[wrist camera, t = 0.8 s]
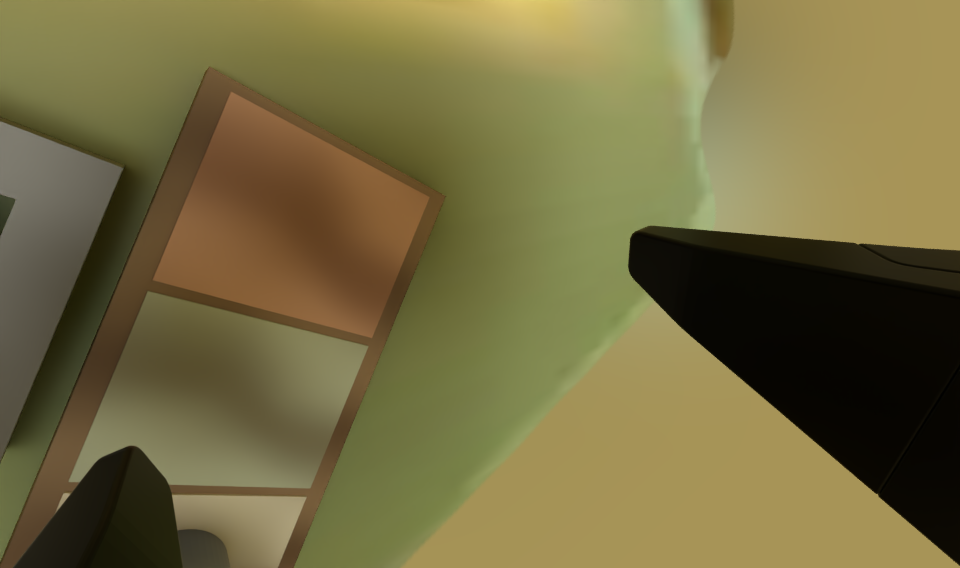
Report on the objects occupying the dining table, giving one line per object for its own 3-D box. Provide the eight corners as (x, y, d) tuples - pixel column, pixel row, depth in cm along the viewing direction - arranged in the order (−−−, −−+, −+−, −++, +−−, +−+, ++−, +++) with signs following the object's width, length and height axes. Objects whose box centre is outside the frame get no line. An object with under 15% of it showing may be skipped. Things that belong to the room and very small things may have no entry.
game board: (257, 625, 22) (262, 645, 21) (-46, 673, 15) (-58, 703, 15) (434, 194, 22) (446, 196, 21) (205, 71, 16) (209, 66, 15)
